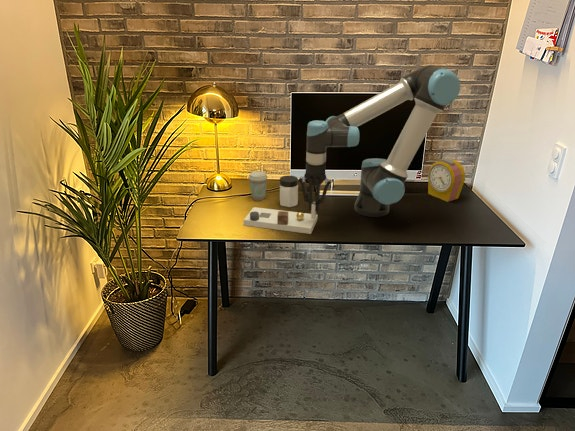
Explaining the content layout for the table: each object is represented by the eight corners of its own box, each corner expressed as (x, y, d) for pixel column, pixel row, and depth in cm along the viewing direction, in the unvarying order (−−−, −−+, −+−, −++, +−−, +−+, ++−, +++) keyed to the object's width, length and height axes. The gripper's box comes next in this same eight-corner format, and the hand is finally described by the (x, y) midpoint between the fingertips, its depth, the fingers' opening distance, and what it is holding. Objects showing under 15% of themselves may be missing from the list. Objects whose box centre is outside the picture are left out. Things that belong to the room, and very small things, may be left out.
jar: (285, 208, 201) (285, 183, 196) (275, 202, 207) (275, 177, 202) (301, 204, 206) (302, 179, 200) (291, 198, 212) (292, 174, 207)
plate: (317, 220, 191) (317, 214, 190) (310, 233, 180) (311, 228, 179) (253, 212, 197) (253, 207, 196) (243, 225, 186) (243, 219, 185)
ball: (304, 218, 187) (304, 211, 185) (302, 221, 184) (303, 214, 182) (297, 217, 187) (297, 210, 186) (295, 220, 185) (295, 213, 183)
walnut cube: (288, 220, 185) (288, 211, 183) (287, 224, 181) (287, 215, 179) (278, 220, 185) (278, 211, 183) (277, 224, 181) (277, 215, 180)
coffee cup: (250, 202, 207) (250, 177, 202) (247, 195, 214) (247, 171, 209) (269, 200, 209) (269, 176, 204) (265, 193, 216) (265, 170, 211)
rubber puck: (260, 217, 187) (260, 212, 186) (257, 221, 184) (257, 215, 183) (251, 216, 188) (251, 211, 187) (248, 220, 185) (248, 214, 184)
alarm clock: (424, 192, 219) (429, 156, 211) (435, 189, 223) (441, 153, 215) (449, 203, 208) (456, 165, 200) (461, 199, 212) (468, 162, 204)
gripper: (334, 160, 175) (331, 216, 185) (301, 157, 178) (299, 212, 188) (331, 166, 169) (327, 223, 179) (296, 163, 172) (295, 219, 182)
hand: (313, 217), depth 184 cm, fingers closed
